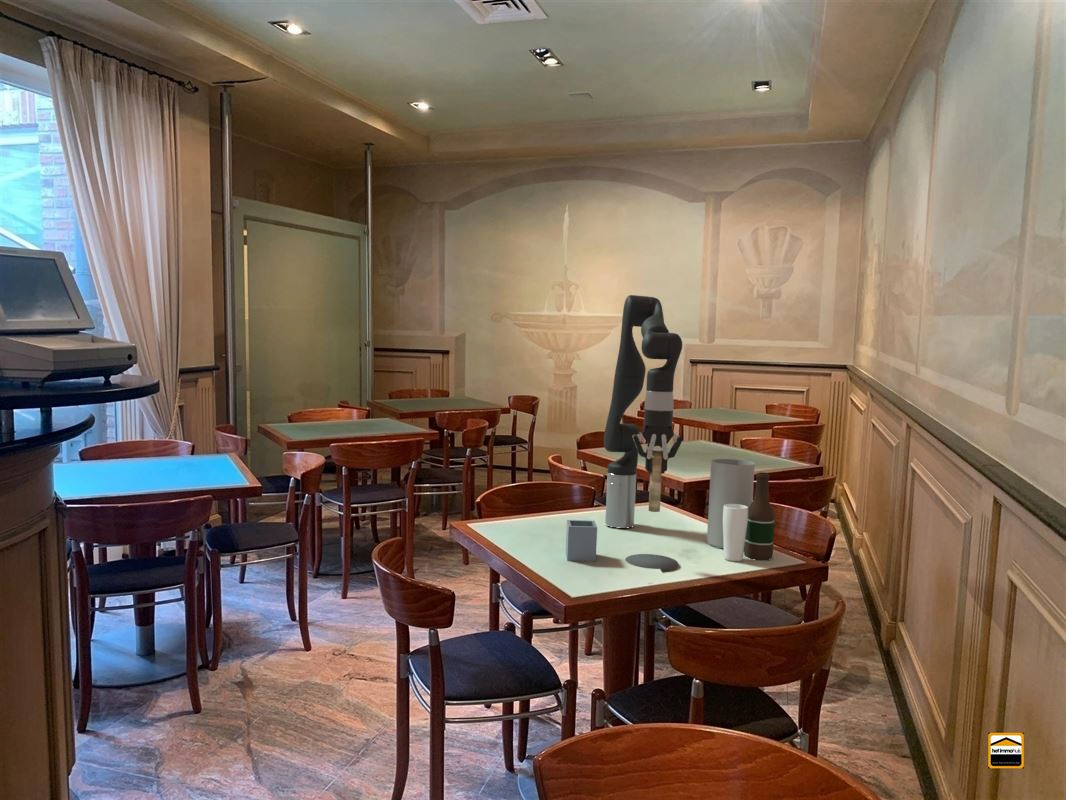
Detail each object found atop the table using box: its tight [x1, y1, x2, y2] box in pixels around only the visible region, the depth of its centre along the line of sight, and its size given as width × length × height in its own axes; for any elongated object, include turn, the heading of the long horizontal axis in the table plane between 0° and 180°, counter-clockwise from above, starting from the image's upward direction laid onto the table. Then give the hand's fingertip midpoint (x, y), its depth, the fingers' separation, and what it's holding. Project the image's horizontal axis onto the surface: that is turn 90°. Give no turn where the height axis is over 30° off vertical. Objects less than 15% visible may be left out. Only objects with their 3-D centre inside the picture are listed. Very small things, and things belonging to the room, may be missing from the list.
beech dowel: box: [648, 450, 663, 513], centre depth 208 cm, size 3×3×16 cm
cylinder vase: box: [706, 458, 755, 550], centre depth 232 cm, size 12×12×25 cm
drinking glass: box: [723, 504, 748, 562], centre depth 216 cm, size 7×7×15 cm
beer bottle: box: [743, 472, 776, 561], centre depth 219 cm, size 8×8×24 cm
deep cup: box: [565, 519, 598, 562], centre depth 210 cm, size 8×8×10 cm
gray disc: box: [625, 553, 679, 572], centre depth 209 cm, size 14×14×1 cm
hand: (655, 472), depth 207 cm, fingers closed on beech dowel, 3 cm apart
